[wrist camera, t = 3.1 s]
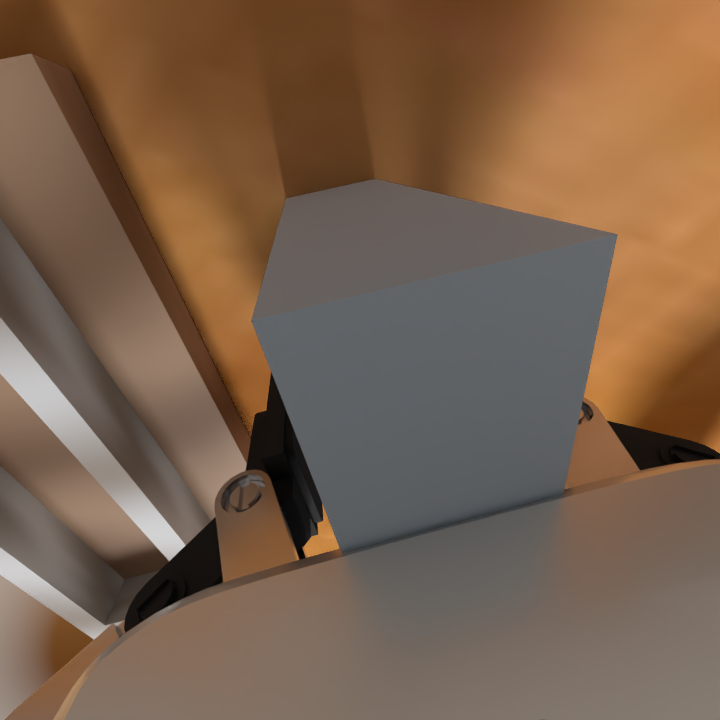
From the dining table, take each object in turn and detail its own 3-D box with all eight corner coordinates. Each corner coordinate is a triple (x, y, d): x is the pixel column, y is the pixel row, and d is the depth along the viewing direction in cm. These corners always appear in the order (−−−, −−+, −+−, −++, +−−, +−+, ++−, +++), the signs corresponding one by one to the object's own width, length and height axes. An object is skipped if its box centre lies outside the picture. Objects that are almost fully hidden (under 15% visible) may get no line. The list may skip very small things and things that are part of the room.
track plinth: (-425, 167, 8) (-828, 172, 5) (69, 68, 9) (-48, 22, 6) (77, 577, 19) (36, 656, 16) (291, 521, 19) (290, 588, 16)
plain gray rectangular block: (286, 198, 11) (252, 319, 3) (374, 178, 11) (617, 235, 3) (355, 452, 17) (411, 731, 9) (411, 437, 18) (520, 699, 9)
